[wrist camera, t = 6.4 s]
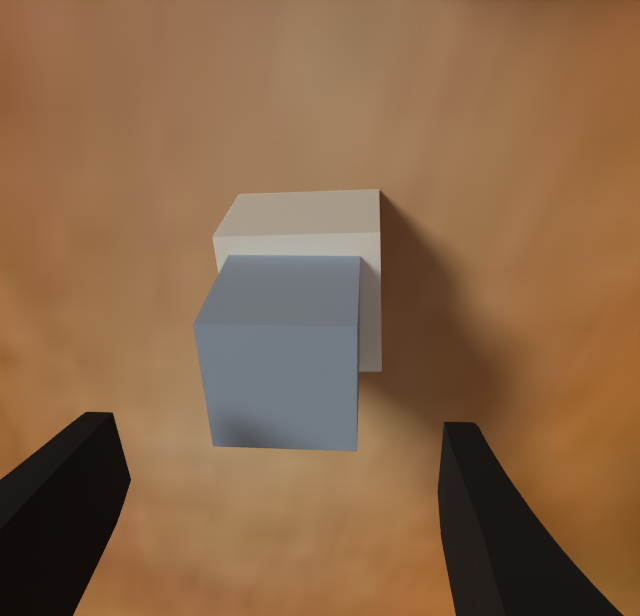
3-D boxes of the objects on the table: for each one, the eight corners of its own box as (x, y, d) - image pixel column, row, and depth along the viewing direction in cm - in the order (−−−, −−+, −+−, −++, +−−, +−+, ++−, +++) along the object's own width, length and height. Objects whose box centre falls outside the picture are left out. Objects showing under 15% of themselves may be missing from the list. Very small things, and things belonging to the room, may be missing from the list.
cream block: (379, 188, 20) (380, 232, 17) (380, 311, 23) (382, 371, 19) (239, 193, 21) (212, 236, 17) (255, 312, 23) (235, 372, 20)
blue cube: (360, 256, 17) (357, 326, 14) (359, 365, 19) (356, 451, 16) (228, 255, 18) (193, 324, 14) (241, 362, 20) (212, 446, 16)
